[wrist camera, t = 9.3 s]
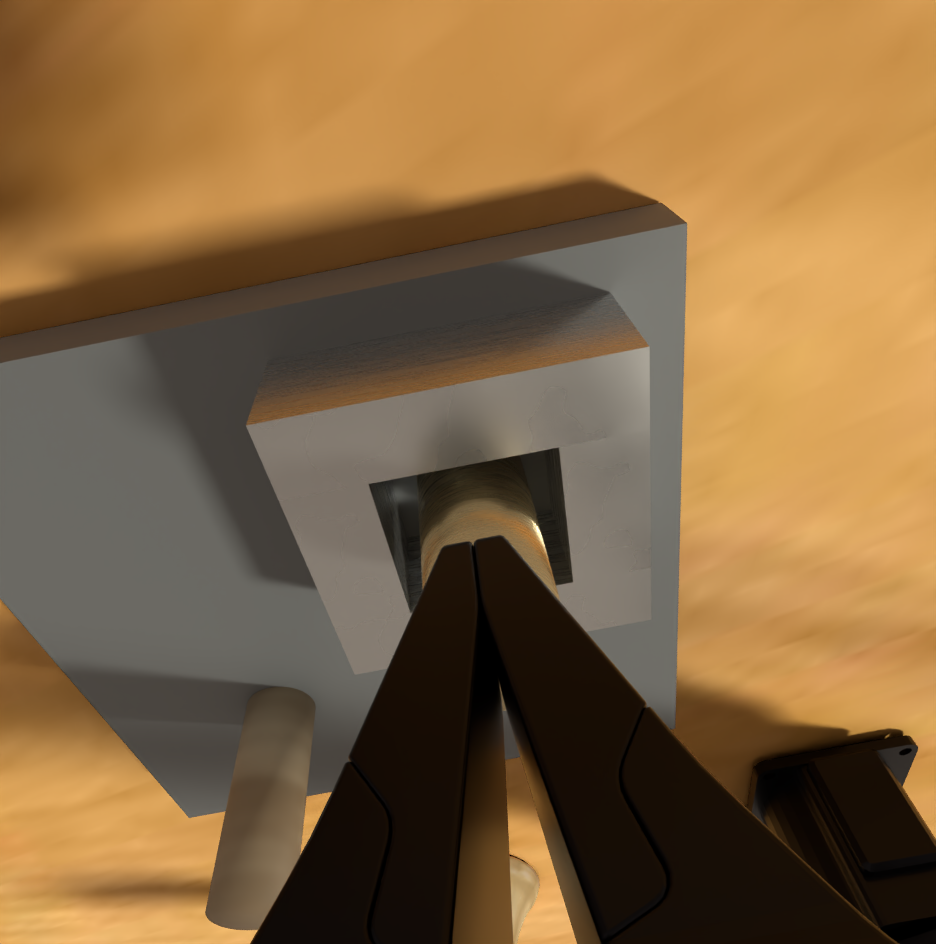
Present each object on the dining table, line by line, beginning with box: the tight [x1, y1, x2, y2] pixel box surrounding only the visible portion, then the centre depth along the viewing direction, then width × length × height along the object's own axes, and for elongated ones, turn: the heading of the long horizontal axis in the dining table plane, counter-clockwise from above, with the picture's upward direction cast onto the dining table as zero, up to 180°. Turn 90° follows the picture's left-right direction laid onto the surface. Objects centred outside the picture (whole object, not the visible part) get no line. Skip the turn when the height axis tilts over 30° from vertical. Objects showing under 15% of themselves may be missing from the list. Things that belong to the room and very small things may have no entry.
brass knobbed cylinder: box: [417, 455, 560, 711], centre depth 13 cm, size 2×2×6 cm
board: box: [0, 203, 687, 818], centre depth 18 cm, size 17×17×2 cm
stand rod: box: [205, 687, 316, 930], centre depth 18 cm, size 2×2×6 cm
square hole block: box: [246, 292, 651, 675], centre depth 14 cm, size 7×7×2 cm
